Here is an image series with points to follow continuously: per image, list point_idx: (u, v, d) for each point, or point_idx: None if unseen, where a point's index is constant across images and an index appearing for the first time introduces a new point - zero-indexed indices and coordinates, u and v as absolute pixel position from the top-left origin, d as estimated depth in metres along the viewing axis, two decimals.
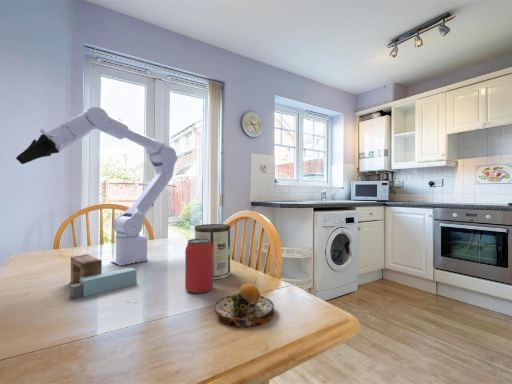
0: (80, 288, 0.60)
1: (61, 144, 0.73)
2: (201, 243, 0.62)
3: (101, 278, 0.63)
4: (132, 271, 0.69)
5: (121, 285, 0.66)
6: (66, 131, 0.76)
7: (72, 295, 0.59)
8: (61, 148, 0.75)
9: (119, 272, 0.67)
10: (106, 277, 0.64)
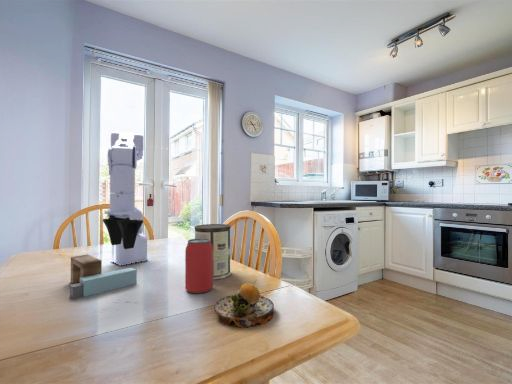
0: (80, 288, 0.60)
1: None
2: (201, 243, 0.62)
3: (101, 278, 0.63)
4: (132, 271, 0.69)
5: (121, 285, 0.66)
6: (124, 196, 0.66)
7: (72, 295, 0.59)
8: None
9: (119, 272, 0.67)
10: (106, 277, 0.64)
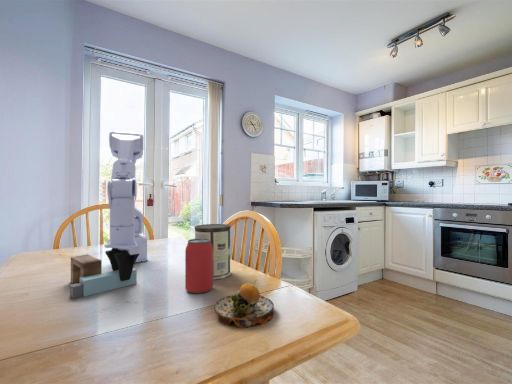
0: (80, 288, 0.60)
1: (136, 245, 0.66)
2: (201, 243, 0.62)
3: (101, 278, 0.63)
4: (132, 271, 0.69)
5: (121, 285, 0.66)
6: (124, 229, 0.66)
7: (72, 295, 0.59)
8: (135, 243, 0.69)
9: None
10: (106, 277, 0.64)
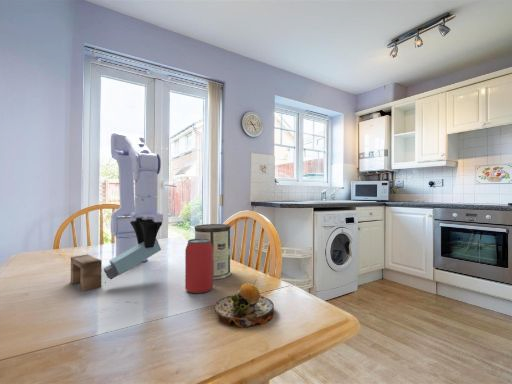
0: (113, 269, 0.66)
1: None
2: (201, 243, 0.62)
3: (128, 255, 0.68)
4: None
5: (148, 255, 0.72)
6: (149, 200, 0.71)
7: (109, 276, 0.65)
8: (158, 214, 0.73)
9: (142, 245, 0.71)
10: (132, 253, 0.69)
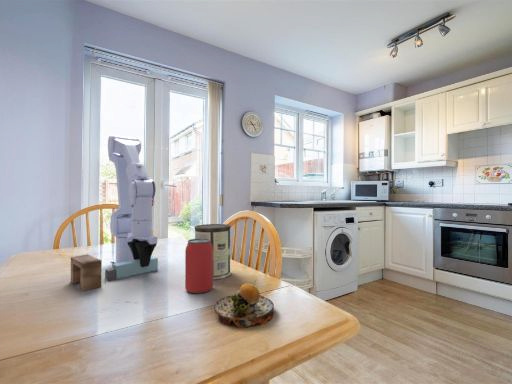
0: (113, 272, 0.73)
1: (154, 236, 0.78)
2: (201, 243, 0.62)
3: (130, 264, 0.75)
4: (154, 259, 0.81)
5: (145, 270, 0.79)
6: (144, 223, 0.77)
7: (107, 277, 0.72)
8: (153, 235, 0.80)
9: None
10: (134, 263, 0.76)
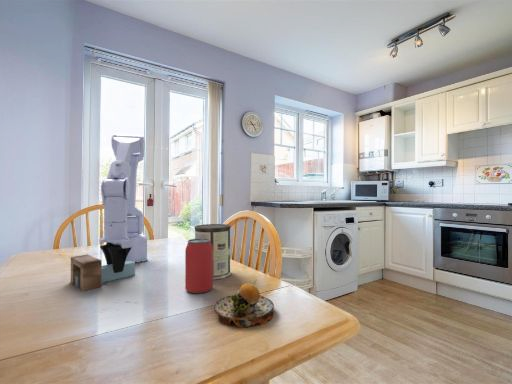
0: None
1: (128, 240, 0.72)
2: (201, 243, 0.62)
3: (103, 269, 0.70)
4: (131, 264, 0.76)
5: (121, 276, 0.74)
6: (117, 225, 0.72)
7: (77, 284, 0.67)
8: (128, 238, 0.74)
9: None
10: (107, 268, 0.71)
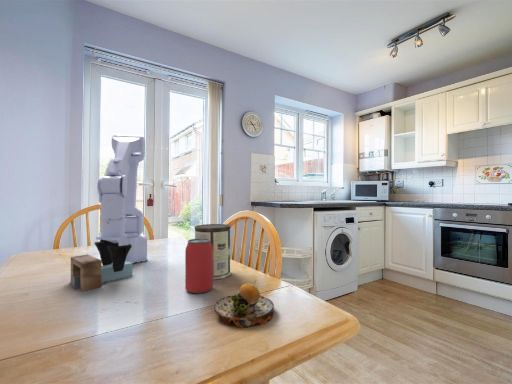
0: None
1: None
2: (201, 243, 0.62)
3: None
4: (128, 264, 0.75)
5: (118, 277, 0.73)
6: (114, 223, 0.71)
7: (74, 285, 0.66)
8: (125, 236, 0.74)
9: None
10: (104, 269, 0.70)
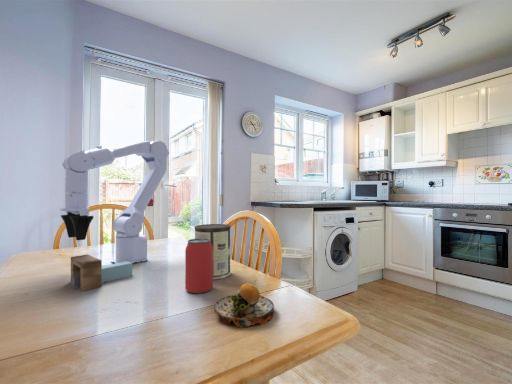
0: None
1: (87, 209, 0.78)
2: (201, 243, 0.62)
3: None
4: (128, 264, 0.75)
5: (118, 277, 0.73)
6: (77, 196, 0.78)
7: (74, 285, 0.66)
8: (88, 209, 0.80)
9: (116, 265, 0.73)
10: (104, 269, 0.70)
